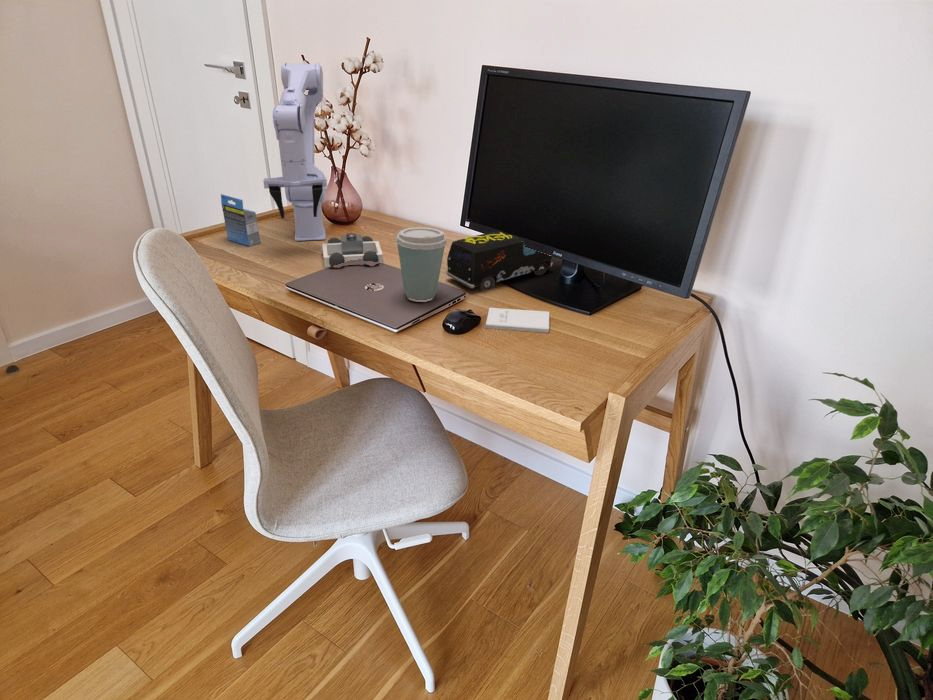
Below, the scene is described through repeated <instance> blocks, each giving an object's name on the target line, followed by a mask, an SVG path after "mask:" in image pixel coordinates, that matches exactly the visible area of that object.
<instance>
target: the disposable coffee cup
mask: <svg viewBox="0 0 933 700" xmlns="http://www.w3.org/2000/svg"><path fill="white" fill-rule="evenodd" d="M446 236H447V235H446V234H445V232H444V230H440V229H438V228H432V227H422V226H421V227H418V226H417V227H416V226H415V227H409V228H407V227H406V228H405V229H402V230H399V231H398V233H397V234H396V239H395V243H396V244H397V250H398V258H399V264H400V271H401V278H402V279H401V280H402V285H403V291H404V292H403V293H404V296H405V295H406V296H407V297H408V298H411V299H415V300H427V299H431V298H433V297H434V296H435V295H436V296H437V291H438V285H439V279H440V274H441V268H442V262H443V258H444V253H445V247H446V245H447V244H448V243H447V237H446ZM406 296H405V297H406ZM434 298H435V297H434Z"/></svg>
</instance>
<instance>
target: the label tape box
mask: <svg viewBox="0 0 933 700" xmlns="http://www.w3.org/2000/svg"><path fill="white" fill-rule="evenodd" d="M231 201H232V203H230V202H231ZM243 201H244V200H243V199H240V198H237V197H233V196H229V195H226V194H223V193H221V194H220V203H221V209H222V212H223V213H222V214H223V220H224V226H225V230H226V235H227V240H228V241H230V242H234V243H237V244H241V245H244V246H247V247H254V246H257V245H259V244H260V243H261V237H260V236H261V235H260V231H259V226H258V220H257V212H256V211H253V210H250V209H245V208H244V203H243ZM233 203H234V204H233Z"/></svg>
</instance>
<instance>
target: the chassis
mask: <svg viewBox="0 0 933 700" xmlns="http://www.w3.org/2000/svg"><path fill="white" fill-rule="evenodd" d="M362 240H363V252H364V253H363V254H355V255H342V250H341V238H340V239H339V238H338V237H330V238H329V239H328V241H327V243H322V244H321V245H322V252H323V253H322V254H323V255H322V256H323V265H324V268H330V267H329V266H334V265H338V264H341V263H345V262H347V261H350V260H358V259H363V261H373V262H380V263H383V264H384V254H383V251H382V248H381V244H380V241H379V240H373V238H372V237H371V236H368V235H364V236H362ZM375 252H376V253H375Z"/></svg>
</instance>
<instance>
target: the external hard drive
mask: <svg viewBox="0 0 933 700" xmlns="http://www.w3.org/2000/svg"><path fill="white" fill-rule="evenodd" d="M485 329H490V330H491V329H493V330H506V331H519V332H520V331H521V332H529V333H531V332H532V333H542V334H543V333H544V334H548V333H549V332H550V311H545V310H542V311H541V310H531V309H529V310H527V309H516V308H515V309H514V308H503V307H502V308H499V307H489V308H488V314H487V317H486V322H485Z"/></svg>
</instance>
